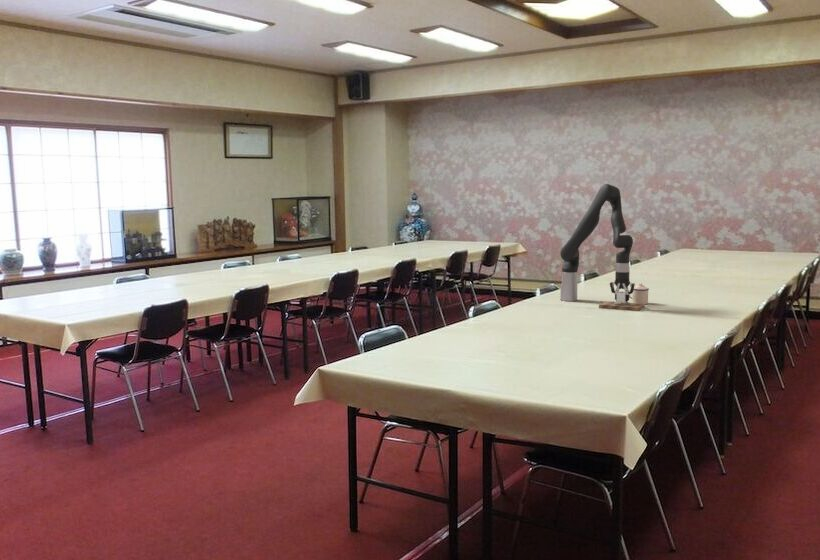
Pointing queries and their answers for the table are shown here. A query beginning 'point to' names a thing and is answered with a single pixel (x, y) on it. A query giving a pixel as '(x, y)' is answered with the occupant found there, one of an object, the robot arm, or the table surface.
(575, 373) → the table surface
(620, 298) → the white block
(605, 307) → the walnut base
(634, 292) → the teacup with lid
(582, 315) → the table surface
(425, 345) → the table surface
